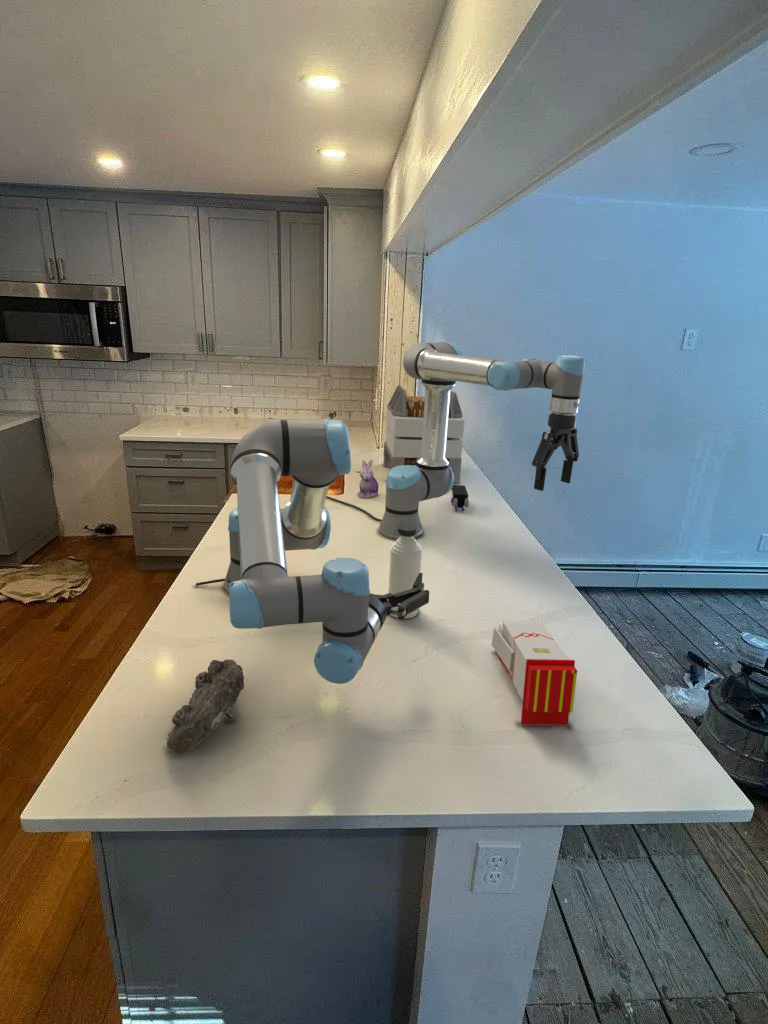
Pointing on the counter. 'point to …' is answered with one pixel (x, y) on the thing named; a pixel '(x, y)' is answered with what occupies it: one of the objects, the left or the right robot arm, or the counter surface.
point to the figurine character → (459, 497)
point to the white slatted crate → (419, 431)
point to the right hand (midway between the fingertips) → (552, 485)
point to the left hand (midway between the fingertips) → (390, 573)
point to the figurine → (368, 481)
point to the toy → (537, 671)
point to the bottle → (404, 566)
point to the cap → (407, 530)
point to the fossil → (206, 705)
